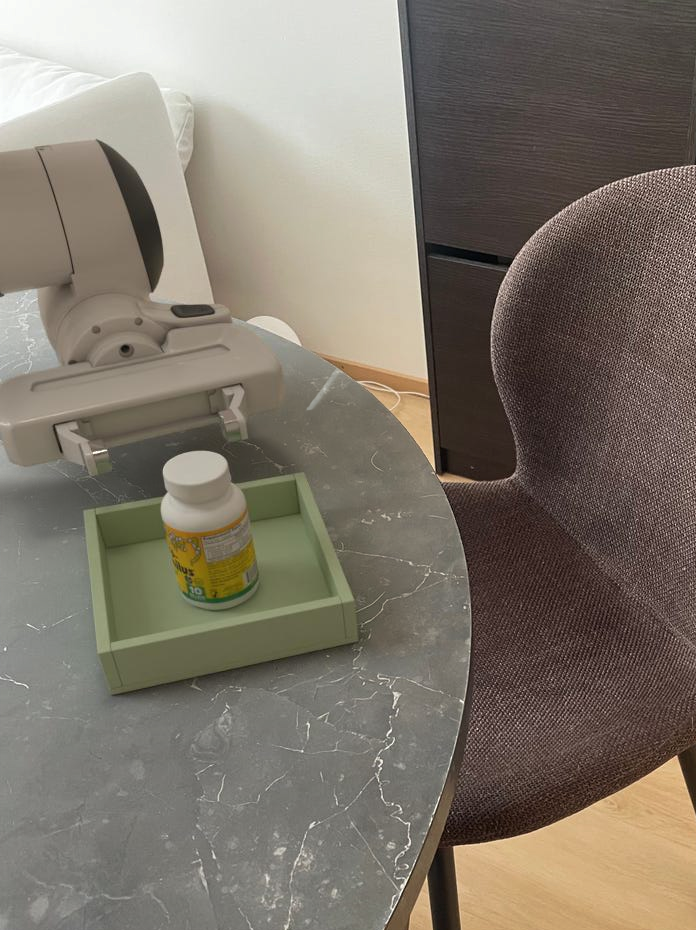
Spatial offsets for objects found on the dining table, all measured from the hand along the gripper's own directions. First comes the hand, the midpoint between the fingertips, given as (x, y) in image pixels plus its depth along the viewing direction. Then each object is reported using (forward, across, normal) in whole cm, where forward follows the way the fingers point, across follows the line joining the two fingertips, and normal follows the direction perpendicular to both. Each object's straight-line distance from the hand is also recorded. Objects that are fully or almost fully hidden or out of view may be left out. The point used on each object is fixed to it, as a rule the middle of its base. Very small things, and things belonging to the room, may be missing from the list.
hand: (170, 448), depth 71 cm
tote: (+7, 0, +8) cm, 10 cm away
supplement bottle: (+7, 0, +7) cm, 10 cm away
